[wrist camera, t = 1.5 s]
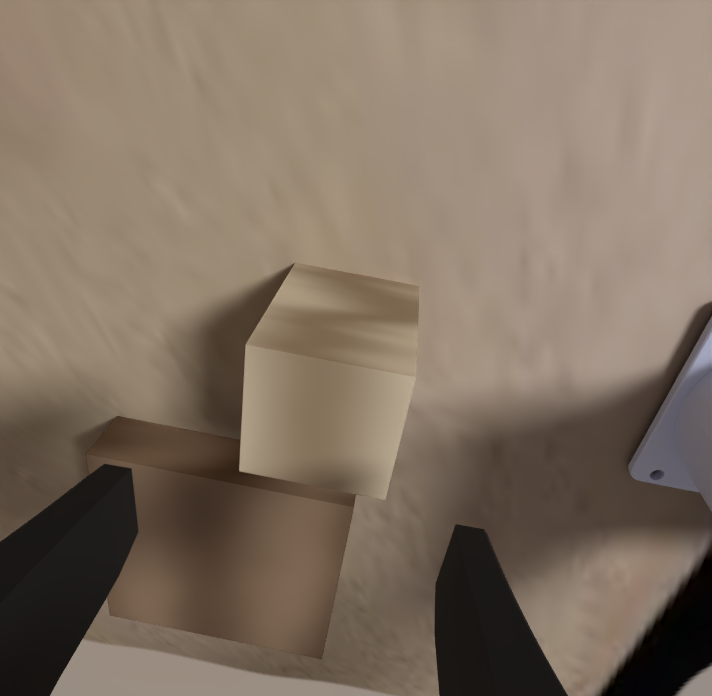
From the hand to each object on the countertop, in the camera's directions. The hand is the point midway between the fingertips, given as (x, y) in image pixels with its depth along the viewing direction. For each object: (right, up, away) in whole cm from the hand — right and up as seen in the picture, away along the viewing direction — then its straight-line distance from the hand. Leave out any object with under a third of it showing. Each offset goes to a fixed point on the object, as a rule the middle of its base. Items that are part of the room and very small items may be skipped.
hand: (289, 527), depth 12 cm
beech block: (+1, +5, +8) cm, 10 cm away
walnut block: (-4, -4, +15) cm, 16 cm away
